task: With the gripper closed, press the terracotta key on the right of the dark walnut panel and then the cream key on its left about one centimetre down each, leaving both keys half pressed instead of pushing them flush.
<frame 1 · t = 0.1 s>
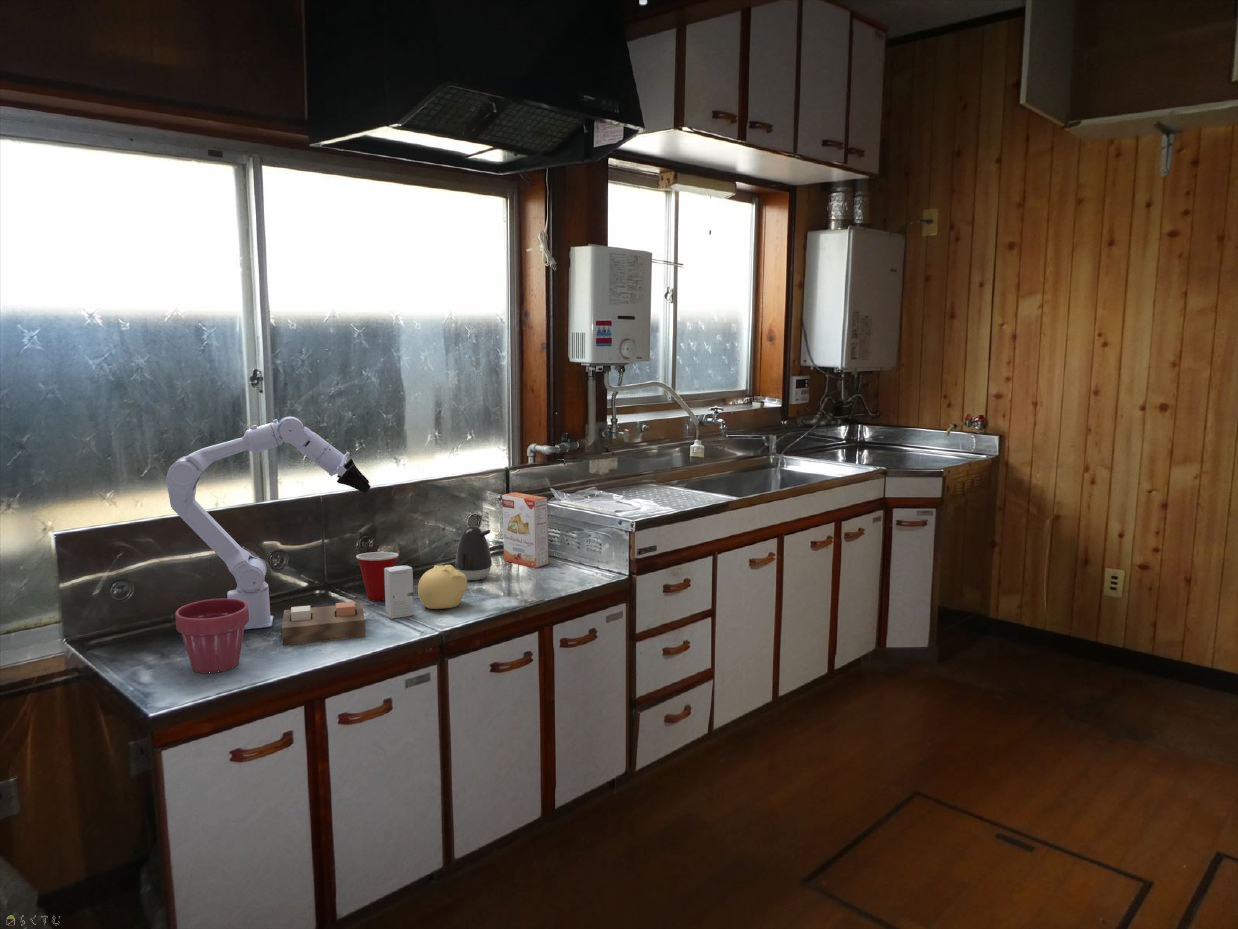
hand: (367, 487, 225), 32 cm above the table, tool tilted 50°, fingers open, 7 cm apart
pump dispenser: (474, 578, 262), on the table
cracker box: (525, 563, 278), on the table
skincare box: (400, 615, 228), on the table
terracotta key: (345, 611, 217), point 4 cm above the table, slide at 0.0 cm
walnut panel: (324, 631, 216), on the table
plastic cup: (379, 598, 243), on the table
sculpture: (442, 607, 236), on the table
plant pot: (216, 666, 195), on the table
cream key: (301, 616, 214), point 4 cm above the table, slide at 0.0 cm
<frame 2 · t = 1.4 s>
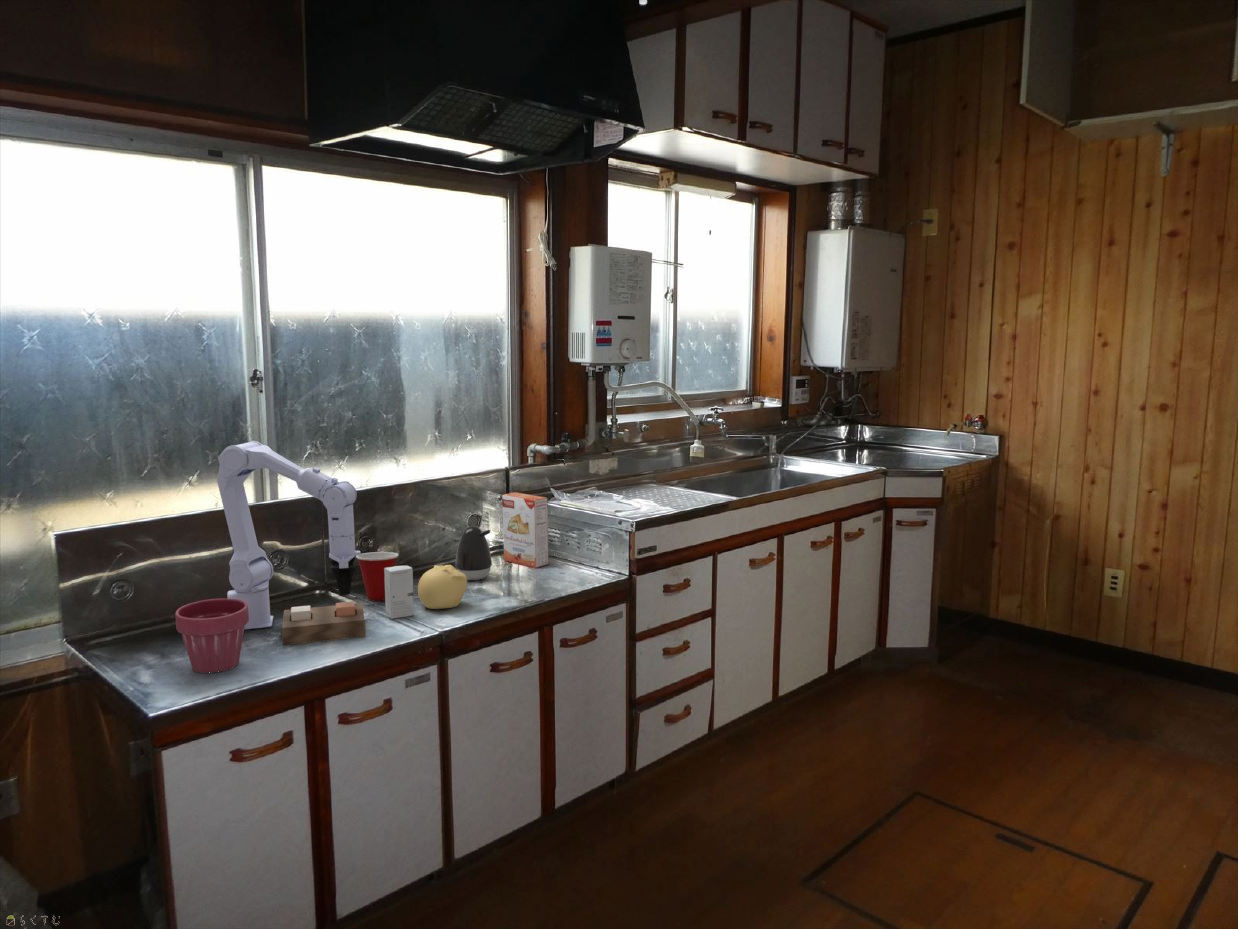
hand: (344, 590, 217), 9 cm above the table, tool pointing down, fingers open, 6 cm apart
nothing on the table moved.
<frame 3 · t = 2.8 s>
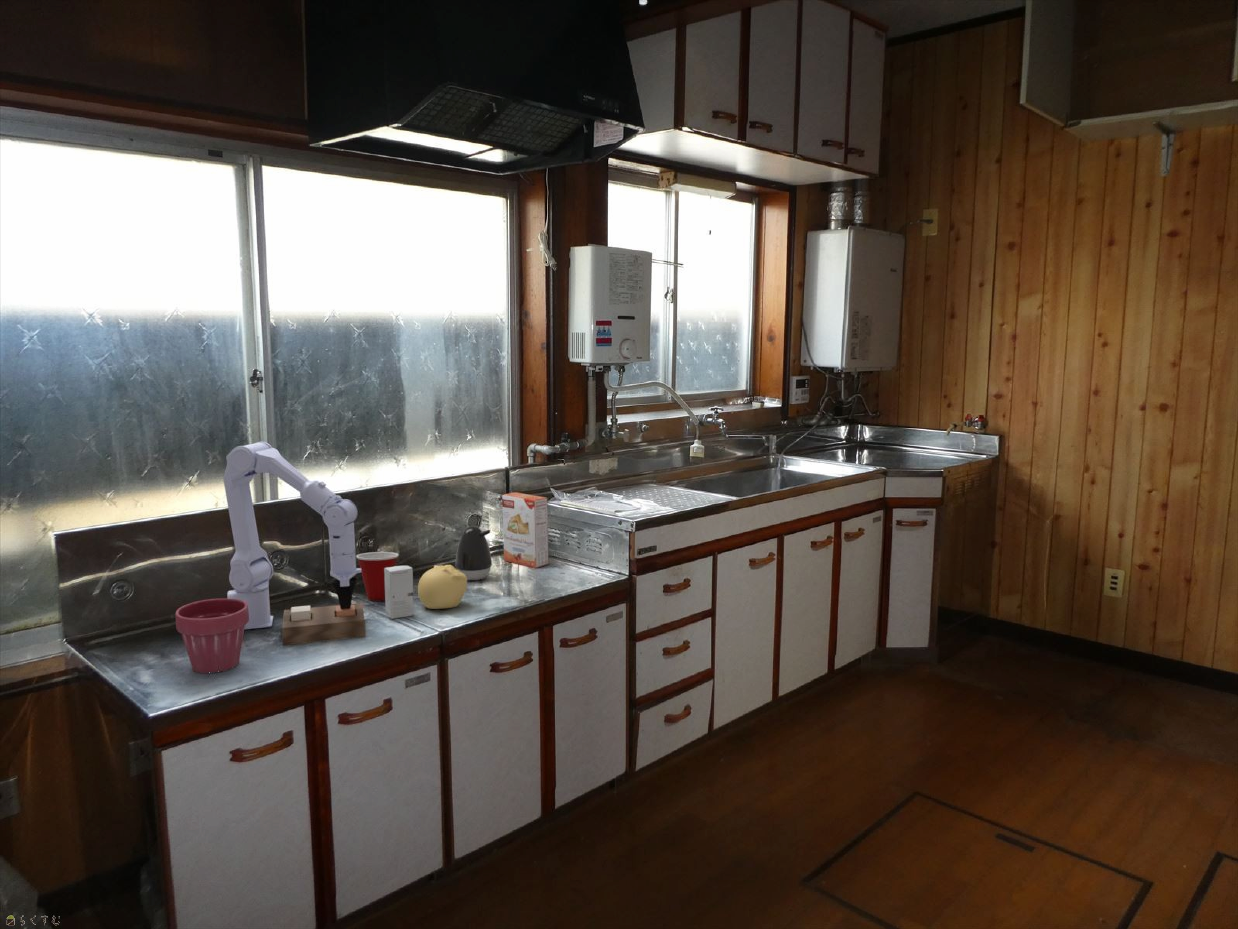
hand: (345, 608, 217), 5 cm above the table, tool pointing down, fingers closed, pressing on terracotta key
terracotta key: (345, 615, 217), point 3 cm above the table, slide at 0.8 cm, touching gripper
everything else where it was.
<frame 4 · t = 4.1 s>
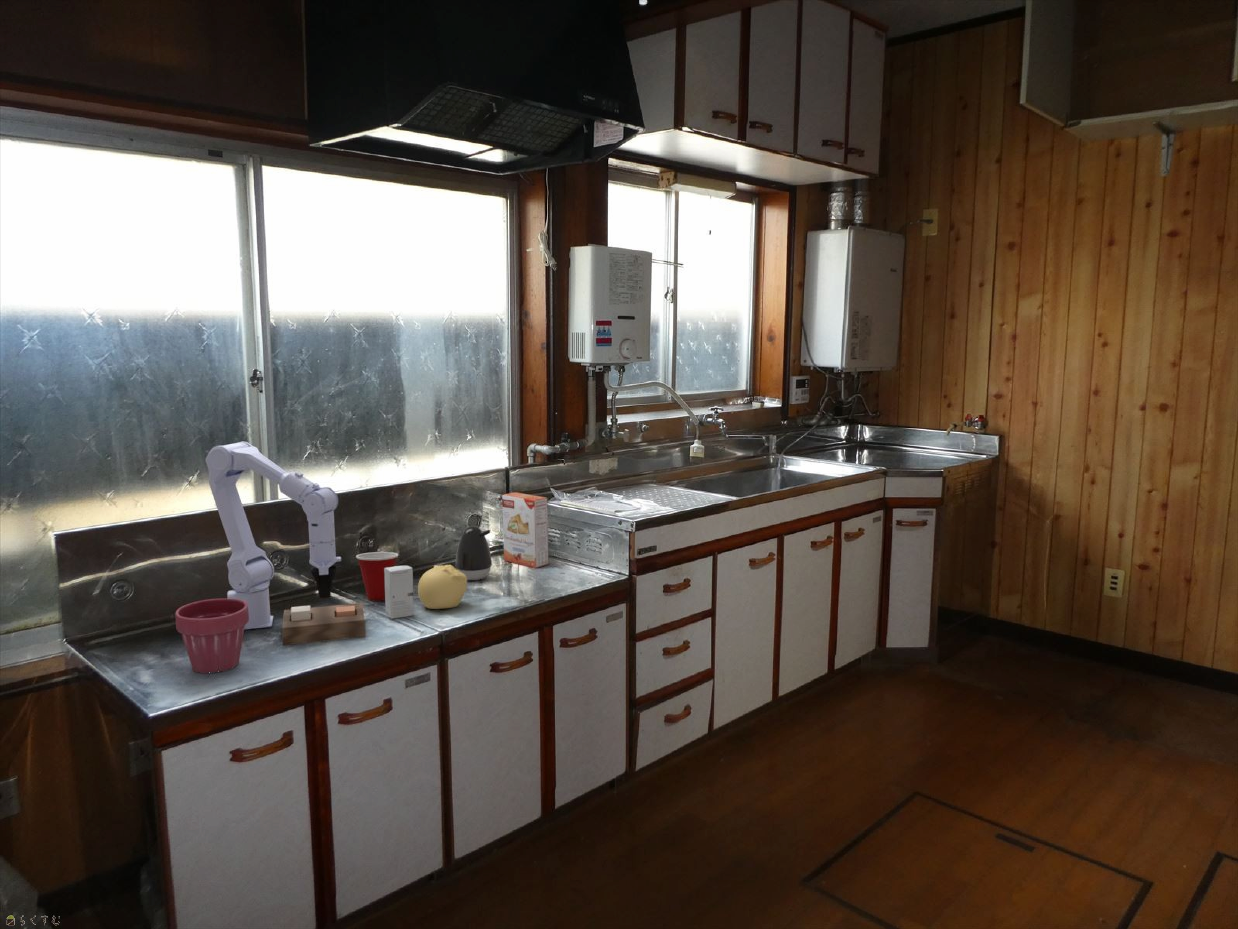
hand: (324, 597, 215), 8 cm above the table, tool pointing down, fingers closed
terracotta key: (345, 616, 217), point 3 cm above the table, slide at 1.0 cm
everything else where it was.
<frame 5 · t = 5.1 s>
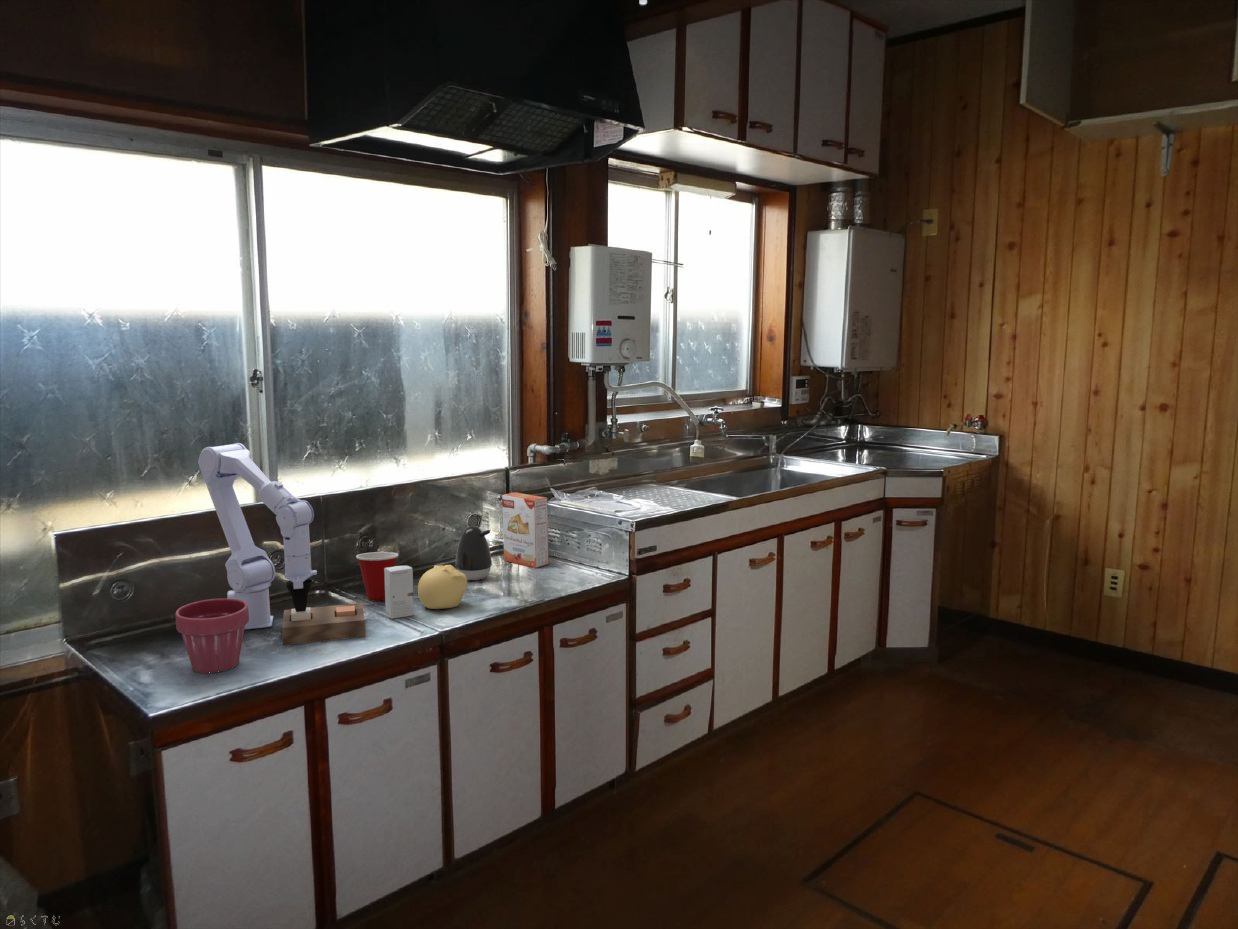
hand: (300, 610, 214), 6 cm above the table, tool pointing down, fingers closed, pressing on cream key
cream key: (301, 617, 214), point 4 cm above the table, slide at 0.4 cm, touching gripper
everything else where it was.
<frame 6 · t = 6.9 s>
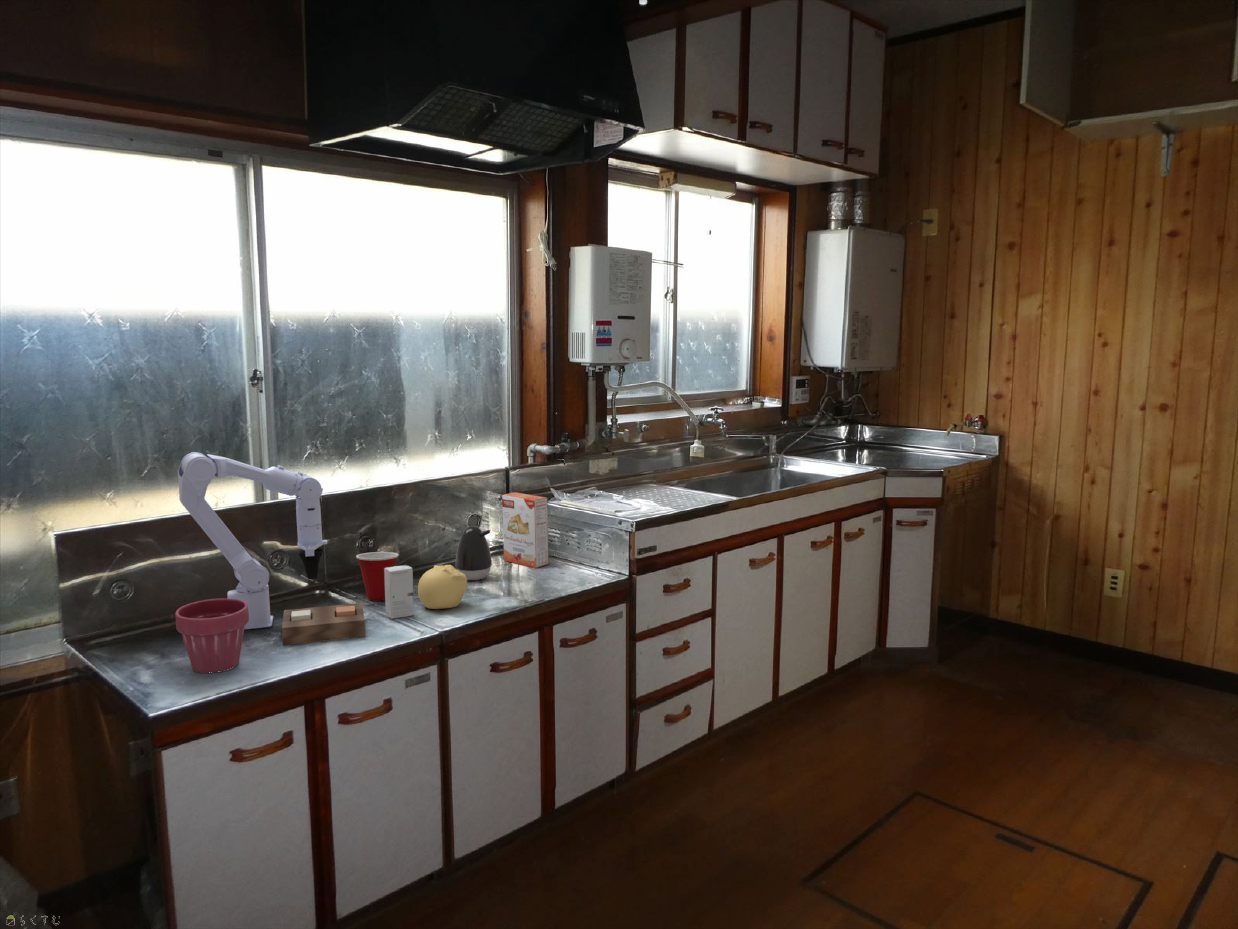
hand: (312, 578, 228), 9 cm above the table, tool pointing down, fingers closed
cream key: (301, 620, 214), point 3 cm above the table, slide at 1.0 cm
everything else where it was.
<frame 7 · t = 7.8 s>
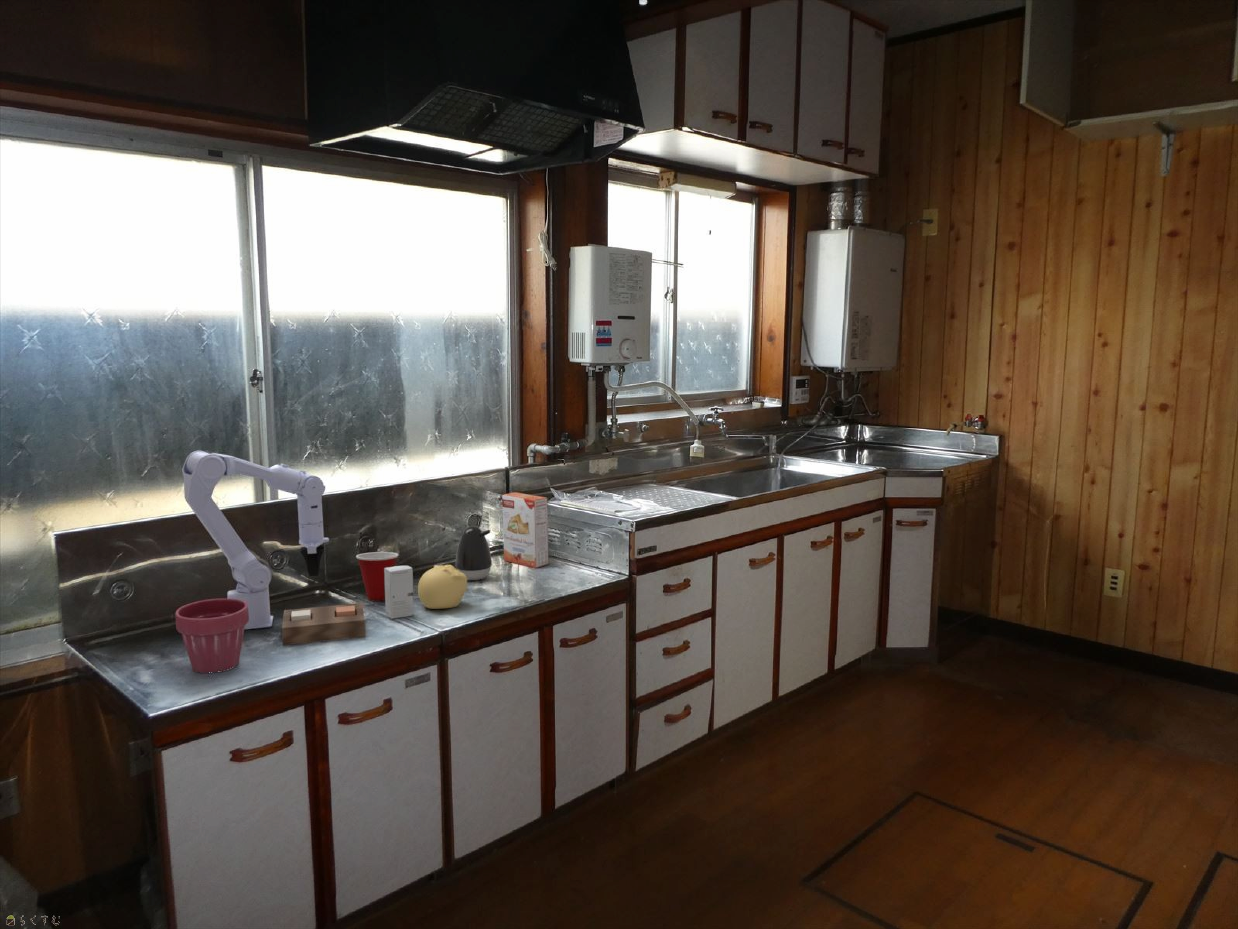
hand: (313, 575, 230), 9 cm above the table, tool pointing down, fingers closed
nothing on the table moved.
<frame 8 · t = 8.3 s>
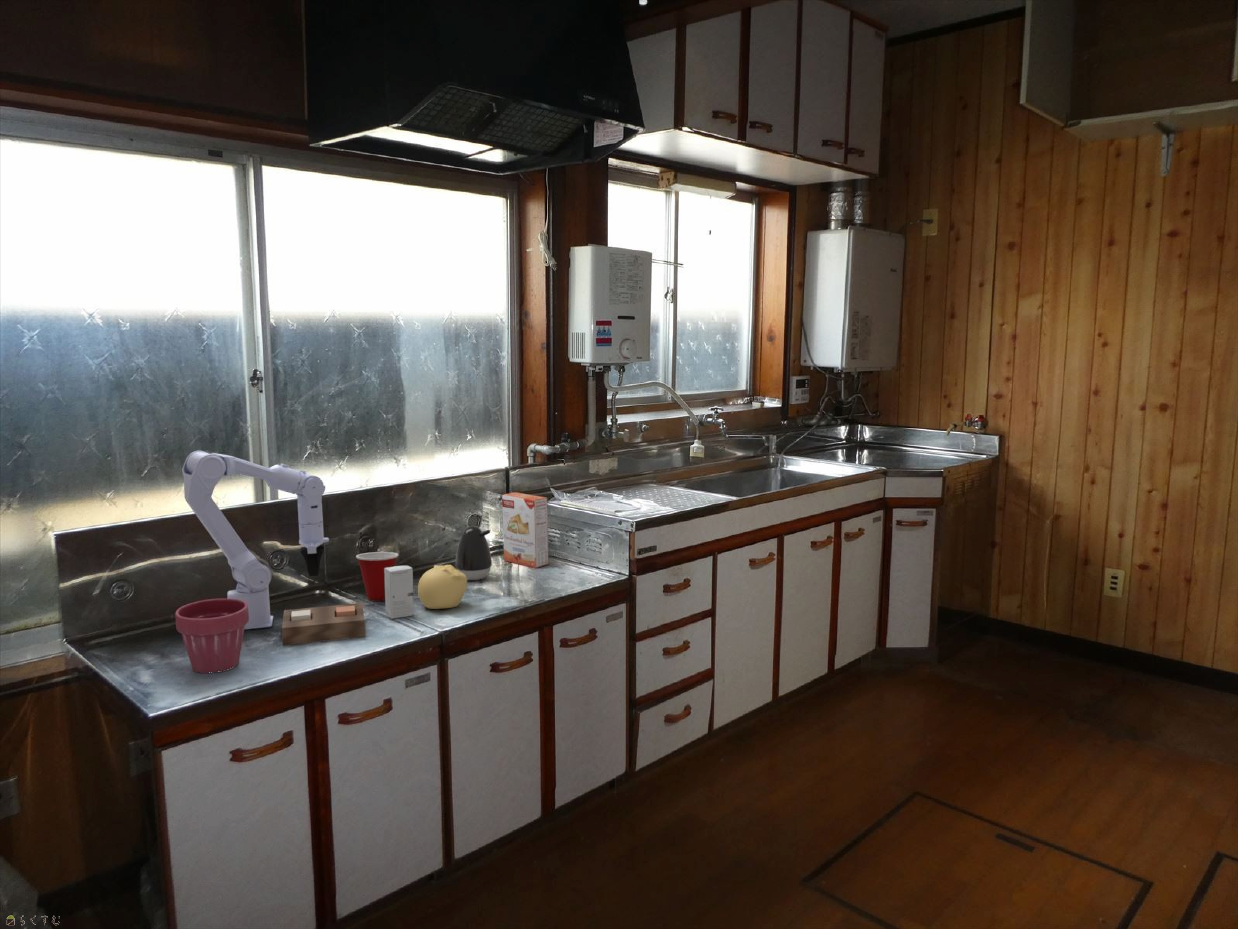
hand: (313, 575, 230), 9 cm above the table, tool pointing down, fingers closed
nothing on the table moved.
at the end: terracotta key slide at 1.0 cm; cream key slide at 1.0 cm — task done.
